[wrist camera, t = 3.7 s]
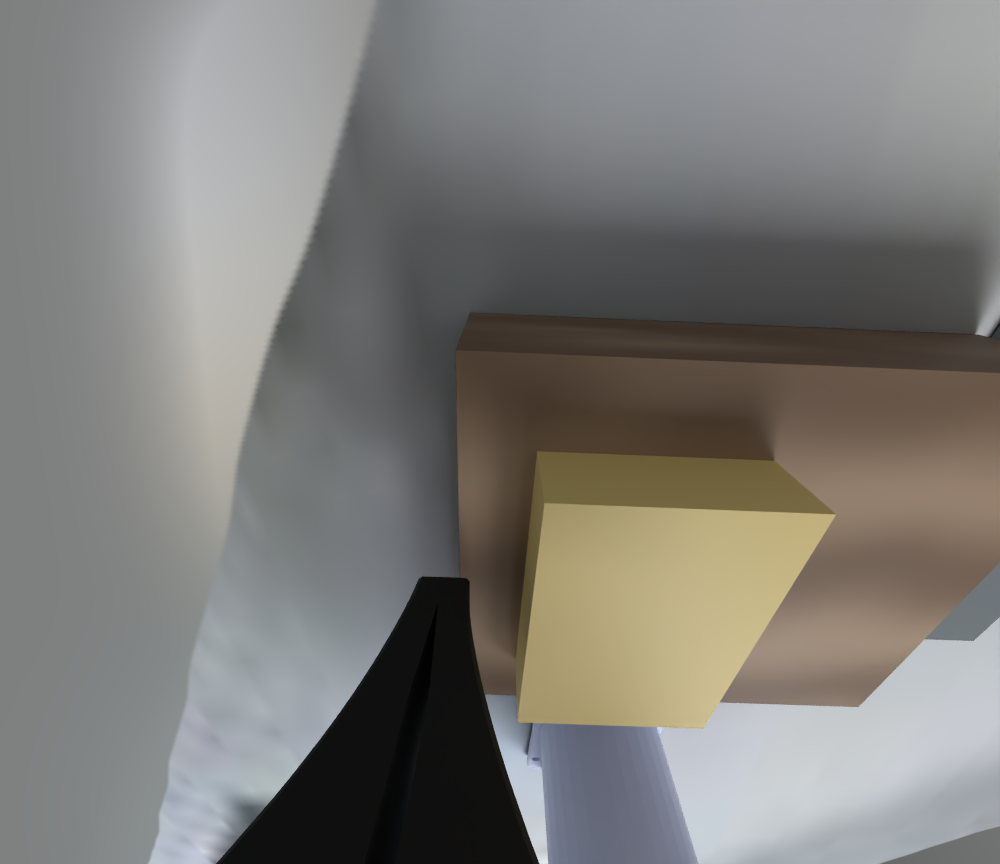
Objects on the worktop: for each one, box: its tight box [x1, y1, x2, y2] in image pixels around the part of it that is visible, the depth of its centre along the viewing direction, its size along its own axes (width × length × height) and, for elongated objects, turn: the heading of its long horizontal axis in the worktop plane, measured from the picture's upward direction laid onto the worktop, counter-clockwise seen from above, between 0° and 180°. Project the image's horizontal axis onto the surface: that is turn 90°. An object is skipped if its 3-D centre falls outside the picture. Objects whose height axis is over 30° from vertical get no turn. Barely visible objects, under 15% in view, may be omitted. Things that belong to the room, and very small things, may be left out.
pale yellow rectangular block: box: [516, 451, 836, 729], centre depth 11 cm, size 9×6×2 cm, turn 178°
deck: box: [456, 313, 1000, 707], centre depth 13 cm, size 14×16×4 cm
